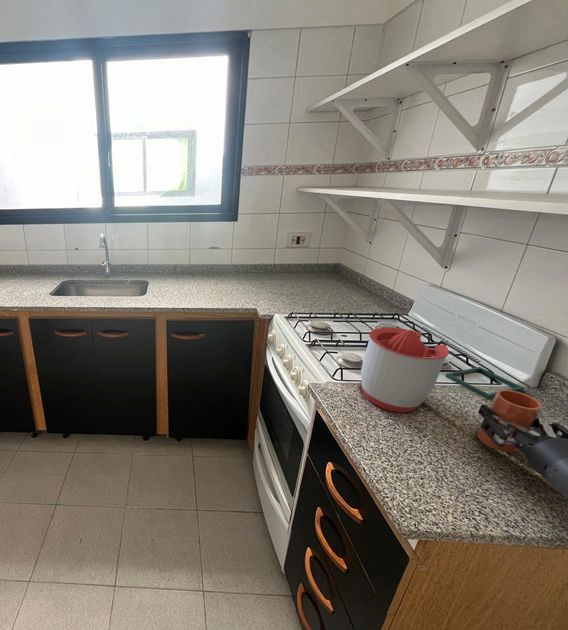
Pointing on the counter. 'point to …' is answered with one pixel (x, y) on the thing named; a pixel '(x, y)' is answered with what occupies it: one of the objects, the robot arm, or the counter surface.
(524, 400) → the tumbler
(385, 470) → the counter surface
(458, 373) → the frame
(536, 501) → the counter surface
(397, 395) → the citrus juicer
